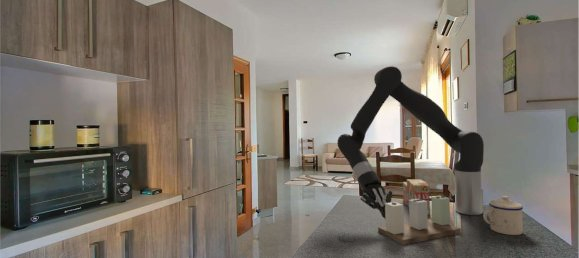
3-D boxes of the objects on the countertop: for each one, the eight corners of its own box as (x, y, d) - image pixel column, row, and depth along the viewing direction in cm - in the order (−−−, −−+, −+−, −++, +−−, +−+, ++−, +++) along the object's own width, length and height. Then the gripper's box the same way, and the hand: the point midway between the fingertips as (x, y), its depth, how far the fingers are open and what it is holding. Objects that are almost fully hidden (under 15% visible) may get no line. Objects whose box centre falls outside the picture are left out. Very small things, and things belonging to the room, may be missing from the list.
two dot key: (440, 220, 102) (439, 194, 102) (450, 223, 98) (449, 197, 98) (431, 221, 100) (431, 195, 100) (441, 225, 97) (440, 198, 97)
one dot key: (395, 228, 95) (394, 201, 95) (404, 232, 91) (403, 203, 91) (385, 230, 94) (385, 202, 94) (394, 234, 90) (393, 205, 90)
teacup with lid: (508, 225, 100) (508, 192, 100) (530, 235, 91) (530, 199, 91) (475, 226, 100) (474, 193, 100) (494, 236, 91) (493, 200, 91)
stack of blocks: (402, 200, 136) (402, 175, 136) (416, 201, 135) (416, 175, 135) (413, 214, 115) (413, 184, 115) (430, 215, 114) (429, 184, 114)
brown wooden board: (431, 221, 106) (431, 217, 106) (460, 232, 94) (460, 228, 94) (378, 231, 97) (378, 227, 97) (403, 244, 86) (403, 239, 86)
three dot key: (418, 224, 98) (418, 197, 98) (427, 228, 95) (427, 200, 95) (409, 225, 97) (409, 199, 97) (418, 229, 93) (417, 201, 93)
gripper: (354, 171, 102) (376, 214, 91) (384, 168, 106) (409, 209, 95) (347, 183, 107) (367, 226, 96) (376, 180, 111) (399, 220, 100)
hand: (388, 217), depth 95 cm, fingers closed
